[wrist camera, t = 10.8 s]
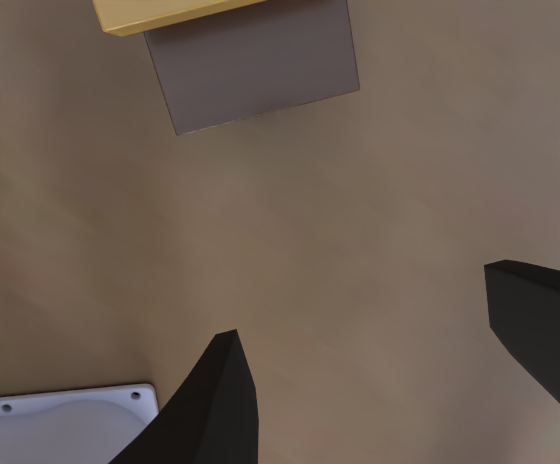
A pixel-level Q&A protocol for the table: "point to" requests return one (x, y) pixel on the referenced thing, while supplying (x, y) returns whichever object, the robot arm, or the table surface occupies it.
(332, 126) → the table surface
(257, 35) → the box
